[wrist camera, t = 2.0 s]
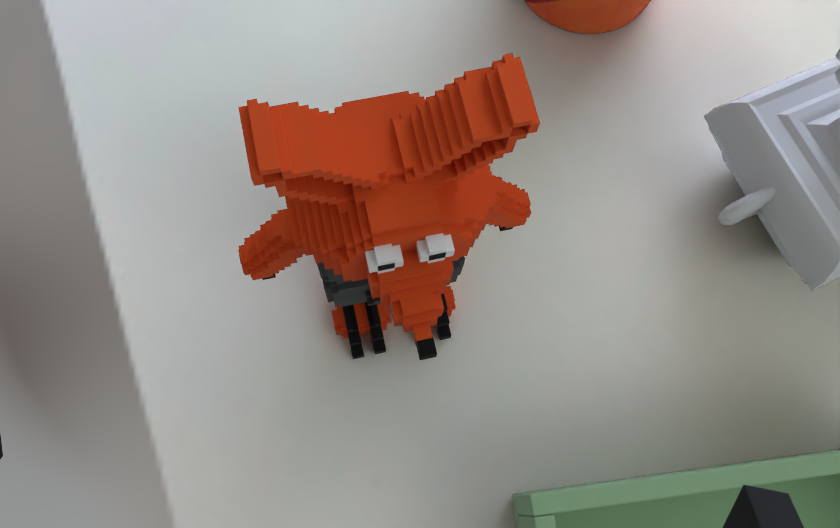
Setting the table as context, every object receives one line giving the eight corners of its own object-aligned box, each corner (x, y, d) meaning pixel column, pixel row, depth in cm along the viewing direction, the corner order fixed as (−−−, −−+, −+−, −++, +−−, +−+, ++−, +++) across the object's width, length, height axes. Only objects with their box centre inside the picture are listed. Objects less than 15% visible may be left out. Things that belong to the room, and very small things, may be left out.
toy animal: (291, 431, 24) (204, 367, 12) (262, 269, 25) (162, 80, 14) (533, 375, 25) (661, 269, 13) (491, 222, 26) (574, 8, 15)
